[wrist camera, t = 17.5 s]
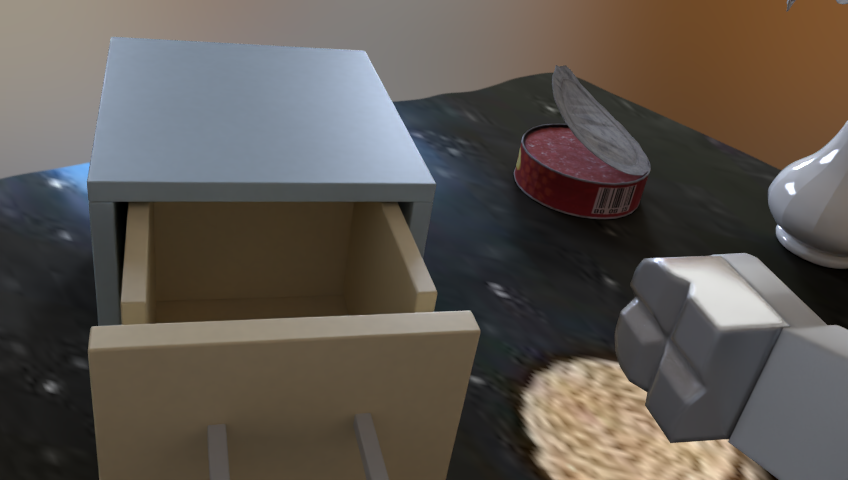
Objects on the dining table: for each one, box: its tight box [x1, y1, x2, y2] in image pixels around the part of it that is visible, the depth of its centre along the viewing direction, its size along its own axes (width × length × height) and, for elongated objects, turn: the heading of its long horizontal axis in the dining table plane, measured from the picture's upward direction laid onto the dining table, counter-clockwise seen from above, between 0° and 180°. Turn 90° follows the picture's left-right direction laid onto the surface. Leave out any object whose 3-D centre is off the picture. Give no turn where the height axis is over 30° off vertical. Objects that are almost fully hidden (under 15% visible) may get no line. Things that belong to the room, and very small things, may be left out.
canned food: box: [514, 65, 651, 219], centre depth 62 cm, size 11×10×10 cm
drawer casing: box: [87, 37, 436, 326], centre depth 42 cm, size 16×14×12 cm
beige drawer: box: [88, 202, 480, 480], centre depth 33 cm, size 19×13×10 cm, turn 15°
